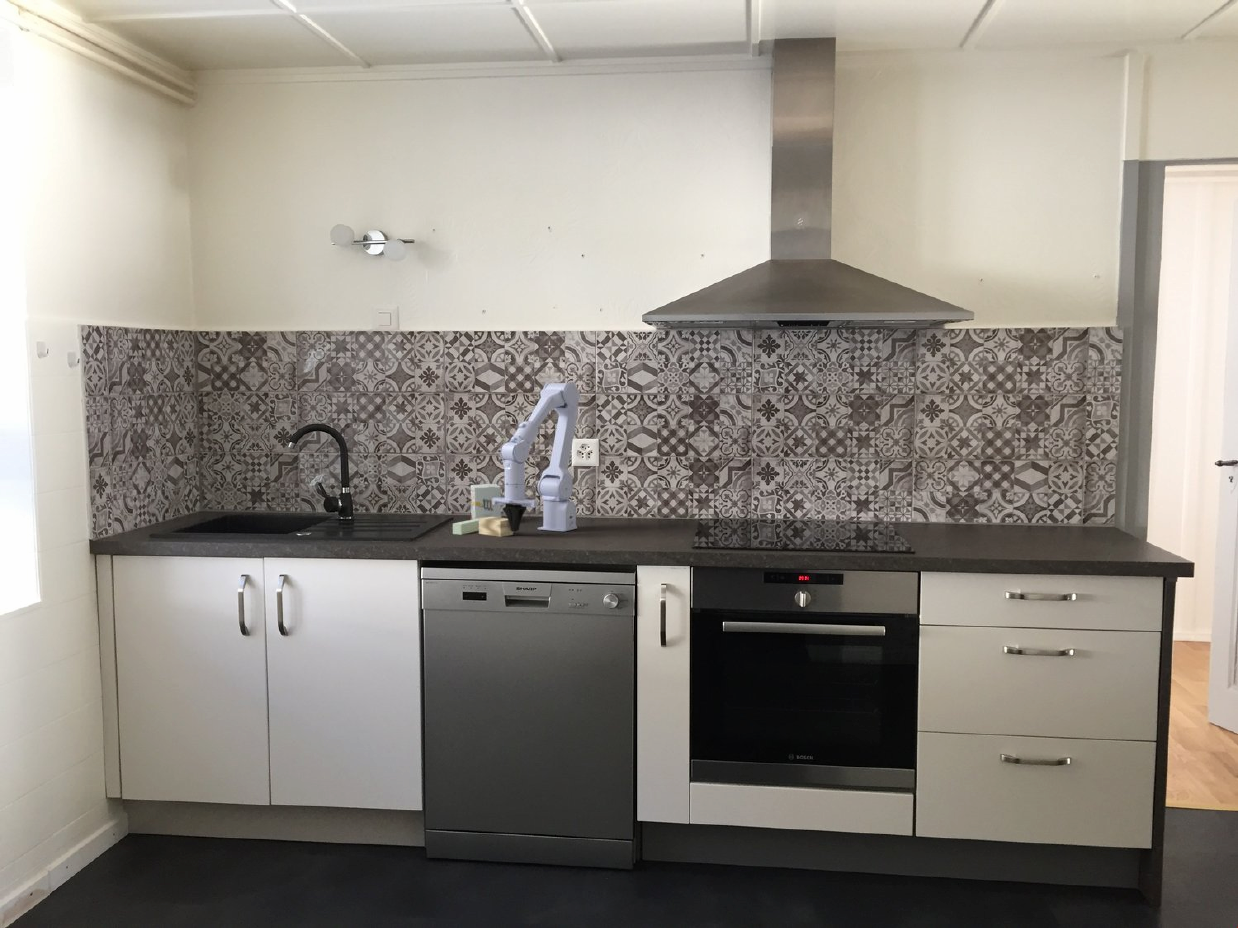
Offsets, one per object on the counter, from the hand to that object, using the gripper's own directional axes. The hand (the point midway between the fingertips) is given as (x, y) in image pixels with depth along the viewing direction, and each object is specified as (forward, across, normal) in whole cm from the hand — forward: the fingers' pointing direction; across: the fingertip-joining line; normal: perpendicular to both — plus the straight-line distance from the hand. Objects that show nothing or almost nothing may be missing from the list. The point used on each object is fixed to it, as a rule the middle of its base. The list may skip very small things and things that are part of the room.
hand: (514, 530), depth 284 cm
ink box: (+2, -23, +18) cm, 29 cm away
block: (+1, -6, 0) cm, 7 cm away
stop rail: (+1, -16, +1) cm, 16 cm away
